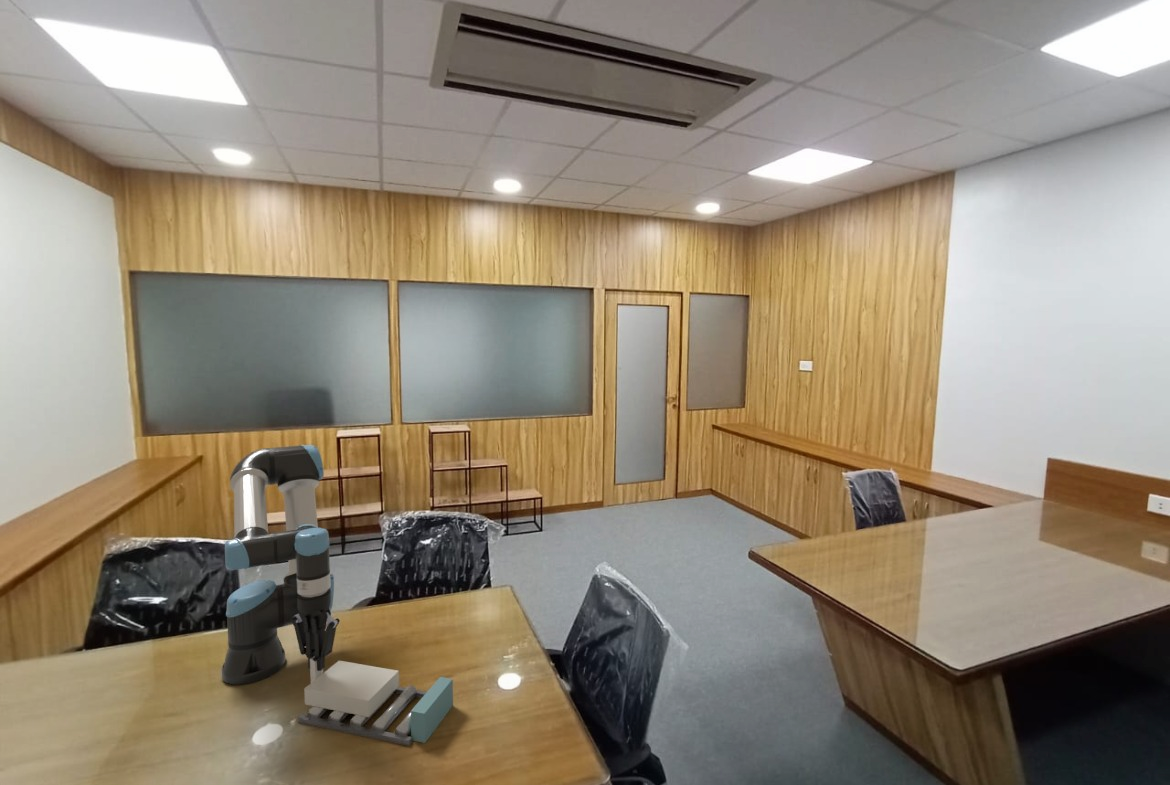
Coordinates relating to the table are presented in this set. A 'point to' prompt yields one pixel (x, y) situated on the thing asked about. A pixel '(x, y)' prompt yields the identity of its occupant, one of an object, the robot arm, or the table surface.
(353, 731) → the roller bed
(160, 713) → the table surface
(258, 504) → the robot arm
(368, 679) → the slab
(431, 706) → the stop block
